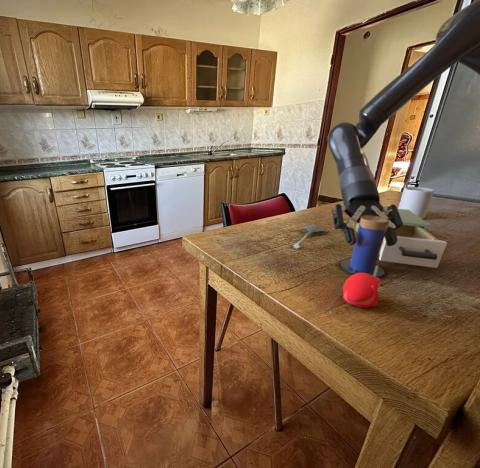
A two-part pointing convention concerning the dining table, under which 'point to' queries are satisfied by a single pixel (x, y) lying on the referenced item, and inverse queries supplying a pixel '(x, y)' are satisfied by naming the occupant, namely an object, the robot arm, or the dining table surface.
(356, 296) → the cap
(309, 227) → the grey spatula
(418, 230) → the drawer
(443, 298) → the dining table surface
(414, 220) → the cabinet
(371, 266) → the spice jar
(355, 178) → the robot arm
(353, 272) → the coaster
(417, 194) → the mug
